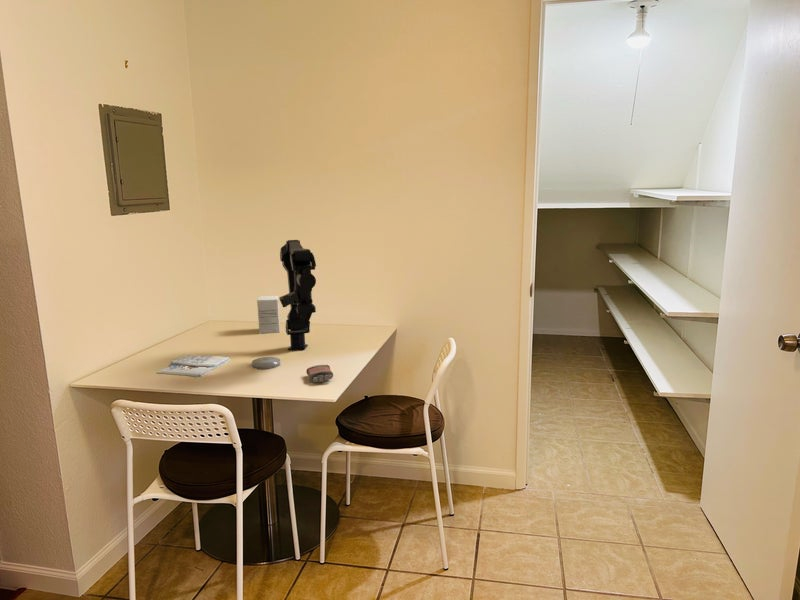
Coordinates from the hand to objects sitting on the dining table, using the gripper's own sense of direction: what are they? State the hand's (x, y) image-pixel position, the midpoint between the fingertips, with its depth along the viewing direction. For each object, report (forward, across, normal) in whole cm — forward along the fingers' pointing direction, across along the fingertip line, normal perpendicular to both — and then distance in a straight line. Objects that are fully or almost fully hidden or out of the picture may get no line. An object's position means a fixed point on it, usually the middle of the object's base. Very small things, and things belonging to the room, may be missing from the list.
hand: (305, 327), depth 216 cm
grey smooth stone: (+13, -1, -14) cm, 20 cm away
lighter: (+11, +16, +2) cm, 19 cm away
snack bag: (+14, -7, -40) cm, 43 cm away
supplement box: (+13, -52, -11) cm, 55 cm away
